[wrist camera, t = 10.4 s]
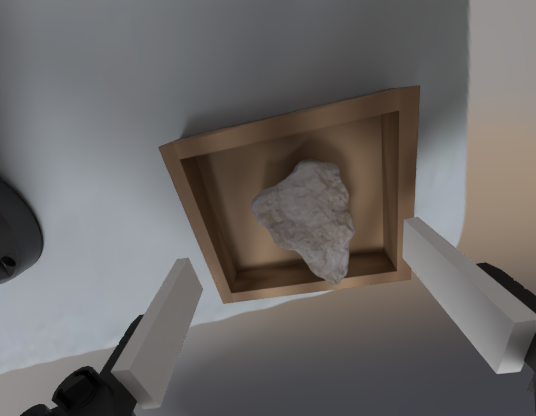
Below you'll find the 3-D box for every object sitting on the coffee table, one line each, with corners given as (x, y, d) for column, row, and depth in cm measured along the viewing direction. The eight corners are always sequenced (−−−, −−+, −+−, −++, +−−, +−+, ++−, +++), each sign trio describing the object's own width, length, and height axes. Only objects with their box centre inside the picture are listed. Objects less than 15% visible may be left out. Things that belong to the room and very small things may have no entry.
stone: (371, 226, 22) (400, 266, 17) (300, 262, 24) (305, 307, 19) (320, 140, 19) (336, 155, 14) (243, 191, 21) (231, 221, 16)
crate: (230, 276, 27) (223, 303, 23) (179, 138, 20) (158, 147, 17) (391, 253, 24) (410, 279, 21) (391, 88, 18) (420, 85, 14)
